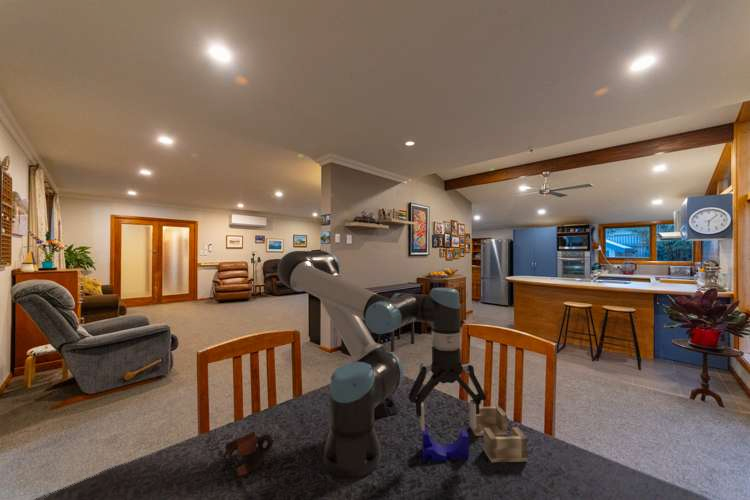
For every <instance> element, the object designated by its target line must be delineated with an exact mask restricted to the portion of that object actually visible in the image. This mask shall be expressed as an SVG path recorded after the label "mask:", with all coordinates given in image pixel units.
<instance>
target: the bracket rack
mask: <svg viewBox="0 0 750 500" xmlns="http://www.w3.org/2000/svg"><path fill="white" fill-rule="evenodd" d="M469 426H470V429H471V431H472V432H473V434H474V436H475V437H483V450H484V452H485V454H486V456H487V458H488V460H489V461H490V462H491V463H521V462H526V463H527V462H528V437H526V435H525V434H524V433H523V432H522V430H520V429H519V427H518V426H512V427H511V435H510V436H508V414H507V413H506V412H505V411H504V409H503V408H501V406H479V414H476V429H473V427H472V426H471V424H470V423H469Z"/></svg>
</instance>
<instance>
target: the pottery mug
mask: <svg viewBox="0 0 750 500" xmlns="http://www.w3.org/2000/svg"><path fill="white" fill-rule="evenodd" d="M265 441H267V444H266V446H265V447H264V446H263V444H264V443H265ZM273 445H274V440H273V438H272V436H271V435H270V434H264V435H261V436H257V435H256V434H255V431H251V432H249V433H247V434H245V435H244V436H240V437H238V438H236V439H234V440H232V441H230V442H228V443H227V444H225V451H224V454H223V458H222V459H223V460H225V459H226V456H227V457H228V458H232V456H233V453H234V452H235V451H236V454H237V455H238V456H239V457H241V458H242V460H243V462H244V463H243V464H241V465H239V466H238V467H236V472H237V475H238V476H239V475H243V476H245V475H248V474H250V473H251V472H253V471H256V470H257V469H258V468H260V467H261V465H262V459H264V458H265V455H267V454H268V453H269V452H270V451H271V450H272V447H273Z"/></svg>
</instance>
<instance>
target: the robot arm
mask: <svg viewBox="0 0 750 500" xmlns="http://www.w3.org/2000/svg"><path fill="white" fill-rule="evenodd" d="M340 267H341V265H340V262H339V259H338V258H337V256H335V254H334V253H332V252H329V251H327V250H321V249H320V250H311V251H310V250H294V251H291V252H288V253H286V254H285V255H283V256H282V258H281V259H280V260H279V262H278V265H277V268H276V269H277V270H276V271H277V275H278V278H279V280H280V282H282V284H283V285H284V286H286V287H288V288H289V289H292V290H293V291H296V292H298V293H299V292H300V293H301V292H306V293H308V294H309V295H312V296H313V297H316V298H317V299H319V300H320V301H319V302H321V304H322V305H323V307H324V309H325V311H326V313H327V315H328V317H329V319H330V321H331V322H332V323H333V326H334V328H335V329H336V331H337V332H338V334H339V336H340V338H341V340H342V341H343V343H344V345H345V347H346V349H347V351H348V353H349V355H350V356H351V362H350V363H349V362H346V363H344V364H342V365H340V366H339V367H337V368H336V369H335V370H334V371H333V372H332V374H331V377H330V385H329V397H330V398H329V403H330V404H329V405H330V407H329V408H330V409H329V411H330V415H329V416H330V419H329V420H330V428H329V429H330V430H329V433H328V436H327V439H326V443H325V446H324V449H323V463H324V466H325V468H326V470H327V471H328V472H329V473H331V474H332V475H335V476H336V477H339V478H344V479H345V478H346V479H357V478H362V477H365V476H366V475H369V474H371V473H372V472H373V471H375V470H376V468H377V467H378V466H379V464H380V462H381V458H382V457H381V455H382V450H381V449H382V448H381V445H380V441H379V438H378V435H377V432H376V429H375V417H374V408H375V407H376V406H377V405H379V404H380V403H381V402H382V401H384V400H385V399H386V398H387V397H389V396H390V395H392V396H393V394H395V393H396V391H397V390H398V389H399V388H401V387H400V386H401V385H402V383H403V382H404V375H405V373H404V372H405V371H404V367H403V363H402V361H401V360H400V358H399V357H398V356H397V355H396V354H394V353H392V352H390V351H386V348H385V347H384V345H383V344H381V343H378V342H376V341H375V340H374V338H373V337H372V334H371V333H370V331H371V332H373V333H375V334H376V335H383V334H389V333H392V332H394V331H396V330H397V329H399V328H401V327H403V326H406V325H408V324H410V323H412V322H421V323H431V328H430V329H431V345H432V347H431V364H430V365H425V363H421V364H420V367H419V373H418V375H417V377H416V379H415V381H414V384H413V386H412V387H411V390H410V391H409V393H408V399H409V402H410V403H411V404H413V403H414V404H415V414H416V416H417V417H419V427H420V429H421V431H425V428H426V427H425V404H424V401H425V400H426V398H427V397H428V396H429V395H430V394H431V392H432V391H433V389H434V388H436V386H438V385H439V383H441V384H446V383H449V384H454V383H455V382H456V381H457V383H458V384H459V385H460V386H461V387H462V388H463V390H464V391H465V392H466V393H467V394H468V395H469V396H470V397H471V398H469V399H468V400H469V425H470V424H471V426H472V427H473V429H476V414H479V407H480V405H481V404H482V401H487V395H486V394H485V392H484V390H483V388H482V386H481V384H480V383H479V382H480V381H478V378H477V376H476V375H475V369H474V366H473V364H471V363H470V362H466V364H462V349H461V342H462V341H461V304H460V294H459V291H458V290H457V289H455V288H453V287H434V288H432V289H431V290H430V294H418V293H417V294H416V293H407V292H402V293H401V292H400V293H398V292H397V293H394V294H393V295H392V296H391V297H390V298H388V297H385V296H383V295H381V294H379V293H376V292H374V291H372V290H369V289H367V288H364V287H362V286H359V285H358V284H355V283H353V282H350V281H347V280H345V279H343V278H341V275H340V273H341V269H340ZM364 321H365V323H366V324H365V323H364ZM366 325H367V327H368V328H369V329H370V331H369V330H368V328H367V327H366ZM463 371H464V373H466V374H467V375H468V377H469V379H470V380H471V383H472V385H473V386H474V389H475V391H476V392H477V394H476V393H475V392H474V391H473V389H471V388H470V387H469V385H468V384H467V383H466V382H465V380H463V378H461V374H462V373H463ZM429 372H431V373H432V375H431V376H430V378H429V379H428V380H427V382H426V384H424V386H423V383H424V382H425V380H426V378H427V377H426V376H427V375H428V374H429ZM422 386H423V387H422Z"/></svg>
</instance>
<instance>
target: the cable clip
mask: <svg viewBox="0 0 750 500" xmlns="http://www.w3.org/2000/svg"><path fill="white" fill-rule="evenodd" d="M421 431H422V430H421ZM421 440H422V441H421V442H422V448H421V451H422V457H423V458H422V459H423V461H436V462H447V458H449V459H450V458H451V459H466V460H467V459H468V460H469V457H470V447H469V445H470V444H469V443H470V441H469V440H470V437H469V434H468V431H467V429H460V433H459V436H458V438H457V439H456V440H455V441H454V442H453V443H450V444H440V443H438V442H436V441H435V440H434V439H432V437H431V436H430V433H429V428H428V427H425V431H422V432H421Z"/></svg>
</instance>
